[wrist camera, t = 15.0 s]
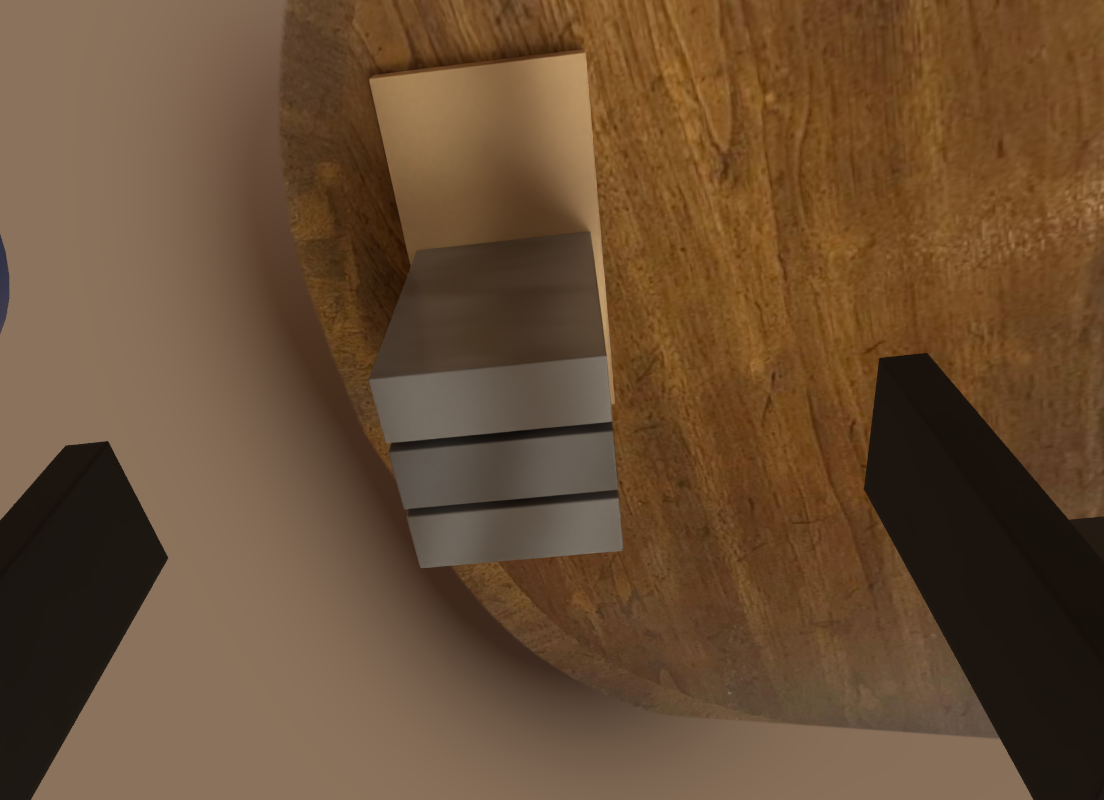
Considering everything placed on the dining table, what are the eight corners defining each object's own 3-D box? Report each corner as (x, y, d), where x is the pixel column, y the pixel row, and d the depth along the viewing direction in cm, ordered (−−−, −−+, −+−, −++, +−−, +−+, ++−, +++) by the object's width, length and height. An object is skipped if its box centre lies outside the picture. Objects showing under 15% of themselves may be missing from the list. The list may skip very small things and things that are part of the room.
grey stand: (446, 411, 47) (412, 582, 35) (372, 74, 37) (290, 156, 25) (614, 395, 47) (636, 563, 35) (584, 48, 37) (602, 119, 25)
